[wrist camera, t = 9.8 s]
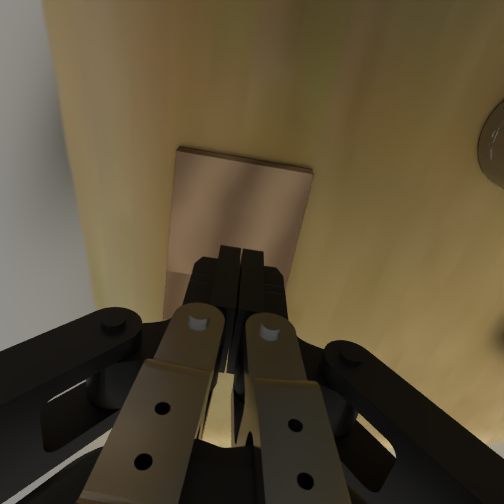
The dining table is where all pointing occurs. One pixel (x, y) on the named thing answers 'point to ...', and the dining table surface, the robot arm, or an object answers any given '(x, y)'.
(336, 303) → the dining table surface
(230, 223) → the wooden cutting board
